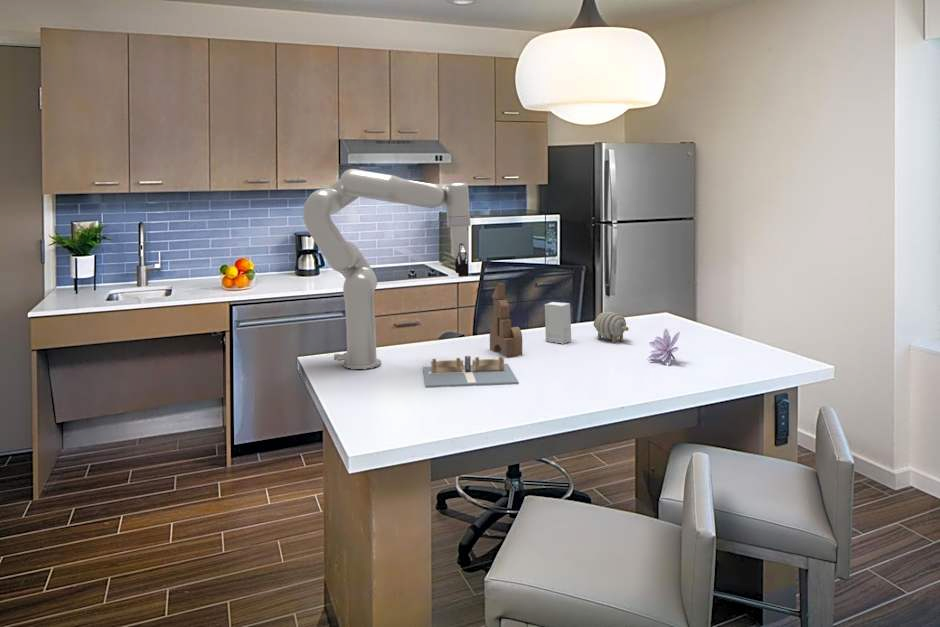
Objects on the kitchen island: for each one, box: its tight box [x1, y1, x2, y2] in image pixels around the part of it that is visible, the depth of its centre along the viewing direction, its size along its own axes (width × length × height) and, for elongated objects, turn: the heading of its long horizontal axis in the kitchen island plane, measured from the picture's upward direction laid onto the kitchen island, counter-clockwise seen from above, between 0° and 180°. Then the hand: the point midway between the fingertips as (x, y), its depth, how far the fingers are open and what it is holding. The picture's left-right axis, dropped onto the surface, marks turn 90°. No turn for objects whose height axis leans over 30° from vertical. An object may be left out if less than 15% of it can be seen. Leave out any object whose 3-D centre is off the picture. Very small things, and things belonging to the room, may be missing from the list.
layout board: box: [422, 363, 520, 388], centre depth 226 cm, size 28×22×1 cm
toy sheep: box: [593, 311, 630, 343], centre depth 272 cm, size 11×17×11 cm, turn 39°
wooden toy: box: [489, 282, 523, 358], centre depth 254 cm, size 16×7×25 cm, turn 24°
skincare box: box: [544, 301, 572, 345], centre depth 270 cm, size 8×6×15 cm
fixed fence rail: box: [430, 357, 464, 372], centre depth 228 cm, size 10×1×4 cm, turn 96°
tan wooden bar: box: [472, 355, 505, 371], centre depth 229 cm, size 10×1×4 cm, turn 96°
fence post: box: [464, 355, 472, 372], centre depth 228 cm, size 2×2×6 cm
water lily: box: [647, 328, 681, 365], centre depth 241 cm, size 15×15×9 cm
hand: (461, 274), depth 234 cm, fingers open, 9 cm apart
